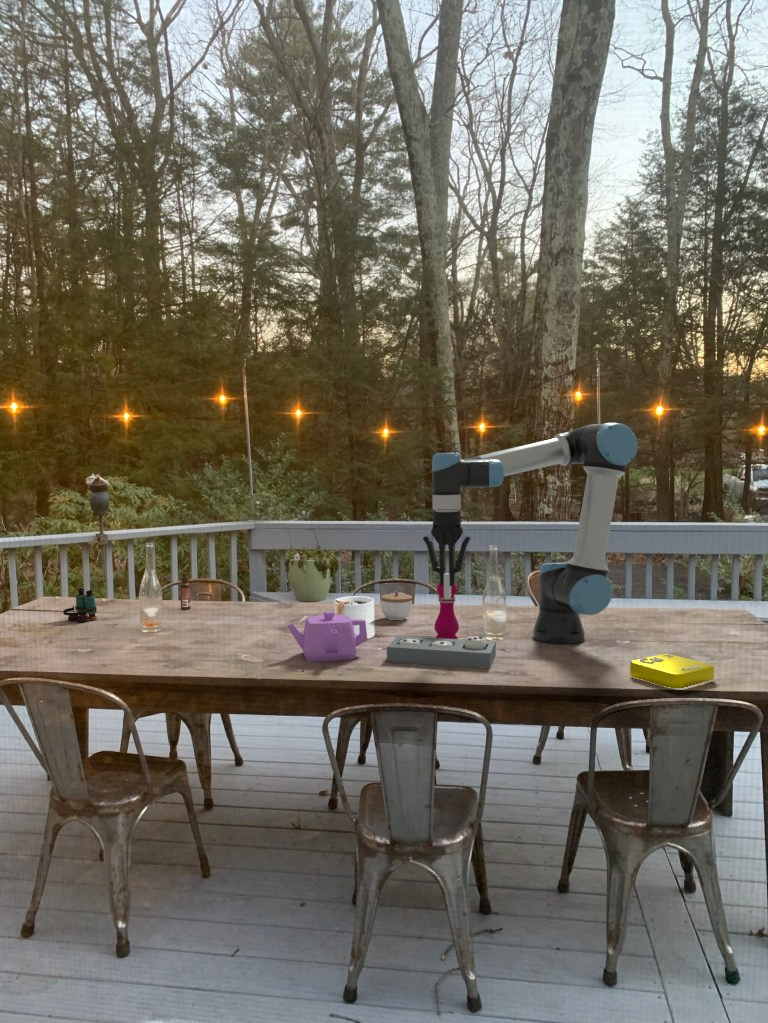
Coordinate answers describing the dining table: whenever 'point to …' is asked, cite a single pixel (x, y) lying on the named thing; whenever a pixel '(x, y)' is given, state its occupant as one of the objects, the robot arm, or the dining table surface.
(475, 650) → the console
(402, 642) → the button two dots
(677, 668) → the element tile
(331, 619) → the teakettle
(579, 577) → the robot arm
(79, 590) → the binoculars
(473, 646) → the button three dots
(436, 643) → the button one dot
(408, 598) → the lidded jar
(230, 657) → the dining table surface
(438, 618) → the pepper mill
